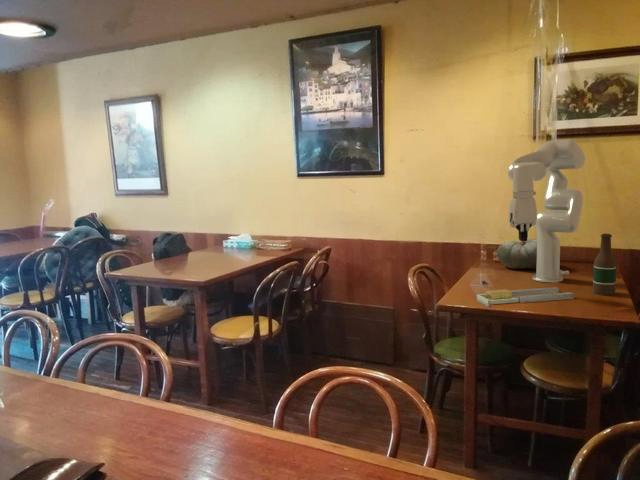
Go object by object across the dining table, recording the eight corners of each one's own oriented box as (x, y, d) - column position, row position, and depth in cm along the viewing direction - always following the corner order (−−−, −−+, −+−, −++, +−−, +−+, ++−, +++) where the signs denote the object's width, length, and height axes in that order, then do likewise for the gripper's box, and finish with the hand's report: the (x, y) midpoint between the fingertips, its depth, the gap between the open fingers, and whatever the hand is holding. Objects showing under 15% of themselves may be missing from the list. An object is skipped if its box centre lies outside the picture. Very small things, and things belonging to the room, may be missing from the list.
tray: (504, 298, 192) (504, 292, 192) (518, 304, 182) (518, 298, 182) (476, 300, 190) (476, 294, 190) (488, 307, 181) (488, 300, 180)
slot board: (554, 293, 196) (554, 286, 196) (574, 300, 185) (574, 293, 184) (504, 297, 193) (504, 290, 193) (520, 305, 181) (520, 298, 181)
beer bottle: (614, 296, 189) (617, 235, 185) (592, 294, 193) (594, 234, 190) (615, 292, 195) (617, 233, 192) (593, 290, 199) (595, 232, 196)
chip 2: (506, 299, 189) (506, 289, 188) (511, 301, 185) (511, 291, 184) (496, 300, 188) (496, 290, 188) (501, 302, 184) (502, 292, 184)
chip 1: (496, 299, 189) (496, 289, 188) (501, 302, 185) (501, 292, 184) (486, 300, 188) (486, 290, 187) (491, 303, 184) (491, 293, 184)
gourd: (561, 266, 237) (555, 231, 236) (512, 276, 236) (505, 241, 236) (538, 262, 262) (531, 230, 261) (493, 271, 261) (486, 240, 261)
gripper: (534, 193, 197) (534, 237, 200) (500, 196, 195) (501, 241, 198) (546, 194, 190) (545, 240, 193) (511, 197, 188) (511, 244, 191)
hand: (523, 240), depth 196 cm, fingers closed
